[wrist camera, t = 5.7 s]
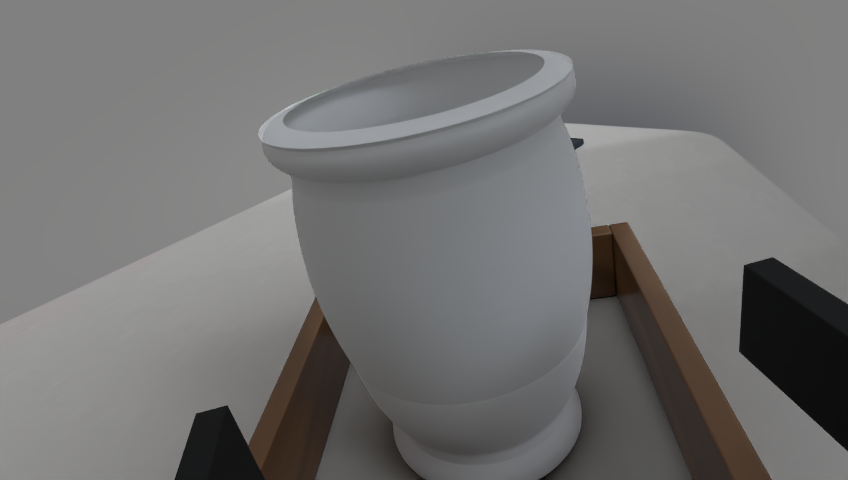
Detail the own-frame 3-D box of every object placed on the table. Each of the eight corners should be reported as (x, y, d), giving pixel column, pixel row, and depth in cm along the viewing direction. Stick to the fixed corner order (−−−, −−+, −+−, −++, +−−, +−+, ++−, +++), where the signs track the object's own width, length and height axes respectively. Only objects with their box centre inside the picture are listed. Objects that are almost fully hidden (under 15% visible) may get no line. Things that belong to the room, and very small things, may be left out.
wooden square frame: (630, 283, 31) (627, 221, 29) (794, 631, 15) (808, 541, 13) (347, 321, 34) (328, 266, 32) (237, 646, 18) (188, 574, 16)
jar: (332, 426, 26) (211, 125, 20) (486, 318, 31) (430, 48, 24) (485, 585, 18) (366, 166, 11) (659, 406, 23) (648, 39, 16)
